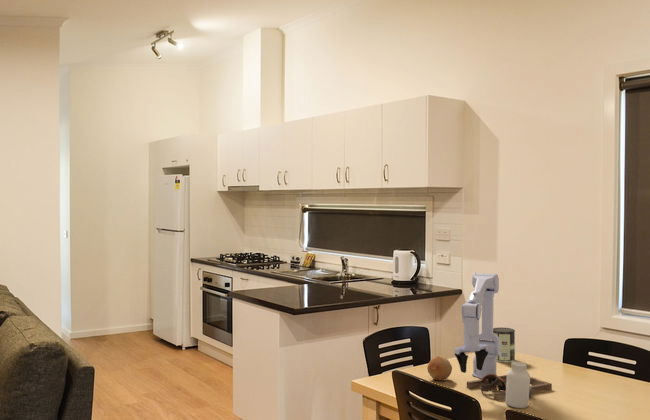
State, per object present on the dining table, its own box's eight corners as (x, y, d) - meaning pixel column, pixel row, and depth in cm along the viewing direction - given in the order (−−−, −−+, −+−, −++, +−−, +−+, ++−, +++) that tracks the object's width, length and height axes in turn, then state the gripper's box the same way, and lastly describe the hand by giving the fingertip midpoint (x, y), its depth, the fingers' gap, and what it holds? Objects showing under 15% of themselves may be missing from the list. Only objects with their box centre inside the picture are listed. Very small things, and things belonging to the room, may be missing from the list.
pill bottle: (501, 399, 224) (504, 359, 222) (522, 399, 224) (525, 360, 223) (510, 408, 216) (513, 367, 214) (532, 408, 217) (535, 367, 215)
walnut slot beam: (466, 387, 241) (466, 381, 241) (519, 378, 253) (519, 372, 253) (496, 400, 226) (496, 393, 226) (551, 389, 238) (551, 383, 238)
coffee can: (506, 356, 290) (506, 326, 290) (519, 361, 280) (519, 331, 280) (487, 357, 287) (487, 328, 287) (499, 363, 277) (499, 332, 277)
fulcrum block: (523, 397, 229) (523, 388, 229) (523, 395, 231) (523, 386, 231) (531, 398, 228) (531, 389, 228) (531, 395, 231) (531, 387, 231)
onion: (453, 383, 246) (453, 359, 246) (428, 383, 248) (428, 358, 247) (451, 377, 256) (451, 353, 256) (426, 376, 257) (426, 352, 257)
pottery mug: (511, 398, 230) (502, 380, 228) (488, 408, 231) (479, 390, 230) (504, 381, 241) (496, 364, 240) (482, 390, 243) (473, 373, 241)
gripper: (463, 339, 224) (463, 376, 224) (493, 335, 230) (493, 371, 231) (450, 335, 230) (450, 371, 230) (480, 331, 237) (480, 366, 237)
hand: (471, 370), depth 231 cm, fingers open, 7 cm apart
